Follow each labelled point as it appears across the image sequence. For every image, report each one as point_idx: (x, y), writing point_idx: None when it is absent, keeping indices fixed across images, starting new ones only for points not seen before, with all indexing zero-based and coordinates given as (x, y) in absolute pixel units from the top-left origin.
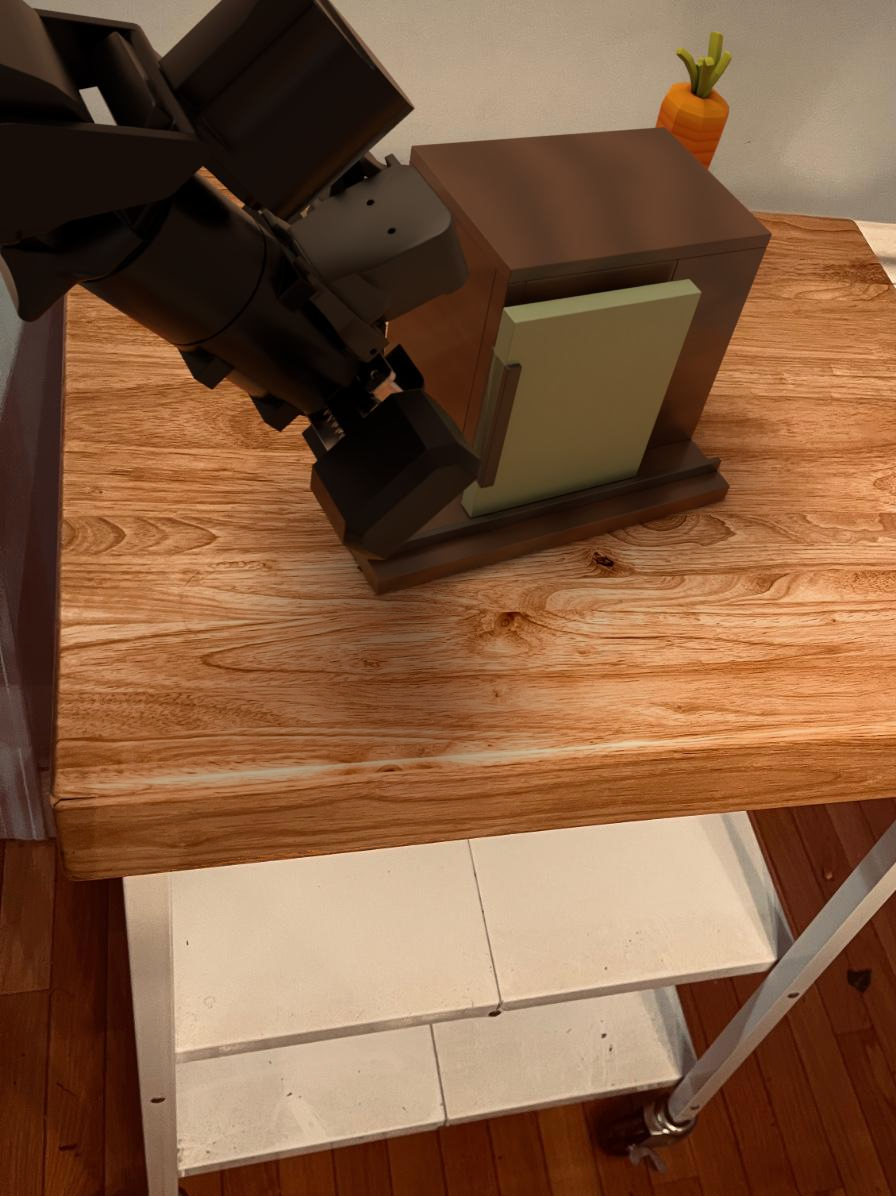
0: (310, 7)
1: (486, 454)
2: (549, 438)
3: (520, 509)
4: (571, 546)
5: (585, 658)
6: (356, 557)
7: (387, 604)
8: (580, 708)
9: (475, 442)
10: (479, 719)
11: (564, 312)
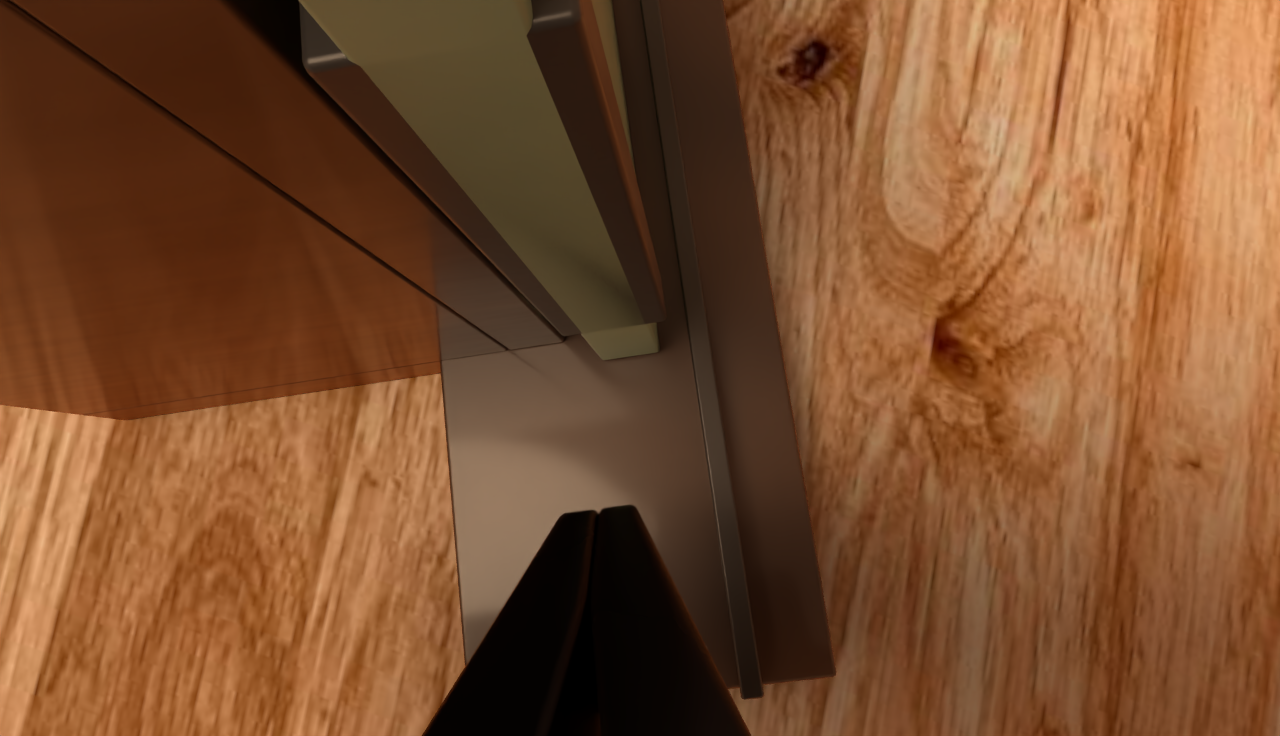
0: None
1: (640, 284)
2: (601, 32)
3: (680, 214)
4: (747, 122)
5: (1109, 210)
6: None
7: (856, 642)
8: (1264, 275)
9: (560, 301)
10: (1267, 534)
11: None
